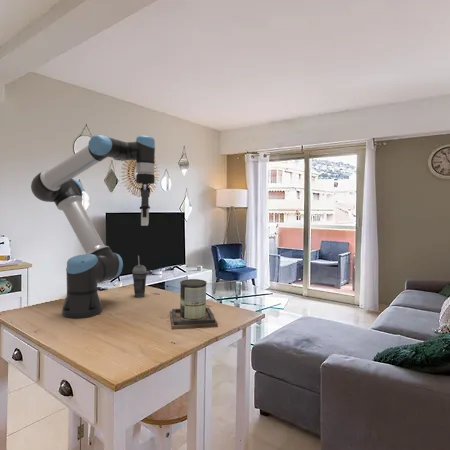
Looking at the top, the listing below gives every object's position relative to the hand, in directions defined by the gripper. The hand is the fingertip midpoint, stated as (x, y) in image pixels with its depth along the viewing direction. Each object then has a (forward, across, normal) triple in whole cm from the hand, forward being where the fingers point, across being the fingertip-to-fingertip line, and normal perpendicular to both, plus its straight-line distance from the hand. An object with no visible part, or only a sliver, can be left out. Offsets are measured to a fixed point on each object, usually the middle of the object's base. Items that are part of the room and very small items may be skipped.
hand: (145, 224), depth 142 cm
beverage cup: (+37, +22, +3) cm, 43 cm away
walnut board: (+37, -16, -19) cm, 44 cm away
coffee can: (+36, -16, -19) cm, 44 cm away
